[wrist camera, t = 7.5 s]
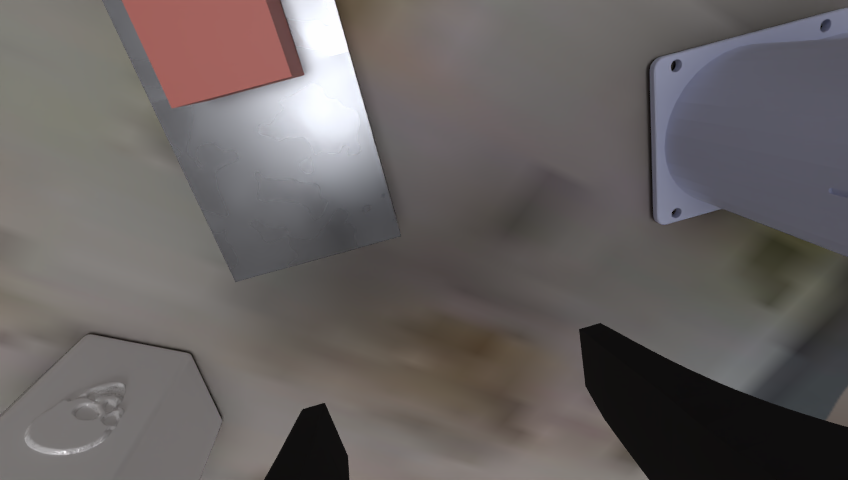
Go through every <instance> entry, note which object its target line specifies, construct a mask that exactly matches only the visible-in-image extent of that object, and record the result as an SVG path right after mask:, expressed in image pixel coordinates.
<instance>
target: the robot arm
mask: <svg viewBox="0 0 848 480" xmlns="http://www.w3.org/2000/svg"><path fill="white" fill-rule="evenodd" d="M821 23H822V28H821V30H820V26H821ZM673 61H675V62H676V66H675V69H674V70H673V71H672V70H671V64H672V62H673ZM650 105H651V145H652V185H653V217H654V220H655V221H656V222H658V223H660V224H662V225H667V224H670V223H674V222H677V221H681V220H684V219H688V218H691V217H695V216H698V215H702V214H706V213H709V212H713V211H716V210H720V209H725V210H727V211H730V212H732V213H735V214H738V215H740V216H743V217H745V218H748V219H750V220H753V221H756V222H758V223H761V224H763V225H766V226H769V227H771V228H774V229H776V230H779V231H782V232H784V233H787V234H789V235H792V236H795V237H797V238H800V239H802V240H805V241H808V242H810V243H813V244H815V245H818V246H821V247H823V248H826V249H828V250H831V251H834V252H836V253H839V254H841V255H844V256H847V257H848V8H842V9H837V10H833V11H830V12H826V13H822V14H818V15H815V16H811V17H807V18H803V19H800V20H796V21H792V22H788V23H785V24H781V25H777V26H773V27H770V28H766V29H762V30H758V31H755V32H751V33H747V34H743V35H740V36H736V37H732V38H728V39H725V40H721V41H717V42H713V43H710V44H706V45H702V46H698V47H695V48H691V49H687V50H683V51H680V52H676V53H672V54H668V55H665V56H661V57H658V58H656V59H655V60H654V61H653V62H652V64H651V66H650ZM674 209H676V212H675V213H674V214H673V215H672V211H673V210H674ZM579 332H580V341H581V350H582V359H583V368H584V377H585V386H586V388H587V389H588V391H589V393H590V395H591V397H592V398H593V400H594V402H595V404H596V406H597V407H598V409H599V411H600V412H601V414H602V416H603V417H604V419H605V421H606V422H607V423H608V425H609V426H610V427H611V429H612V430H613V432H614V433H615V434H616V436H617V437H618V438H619V440H620V441H621V442H622V444H623V445H624V447H625V448H626V449H627V451H628V452H629V453H630V455H631V456H632V457H633V459H634V460H635V461H636V463H637V464H638V465H639V467H640V468H641V469H642V471H643V472H644V473H645V475H646V476H647V477H648V479H649V480H848V427H845V426H842V425H838V424H834V423H831V422H828V421H824V420H821V419H818V418H815V417H812V416H809V415H805V414H802V413H799V412H796V411H793V410H790V409H787V408H784V407H781V406H778V405H775V404H772V403H769V402H767V401H764V400H761V399H759V398H756V397H753V396H751V395H748V394H745V393H743V392H740V391H738V390H735V389H733V388H730V387H728V386H725V385H723V384H720V383H718V382H716V381H714V380H711V379H709V378H707V377H705V376H703V375H700V374H698V373H696V372H694V371H691V370H689V369H687V368H685V367H683V366H681V365H679V364H677V363H675V362H673V361H671V360H669V359H667V358H665V357H663V356H661V355H659V354H657V353H655V352H653V351H651V350H649V349H647V348H645V347H644V346H642V345H640V344H638V343H636V342H634V341H632V340H631V339H629V338H627V337H625V336H623V335H621V334H620V333H618V332H616V331H614V330H612V329H610V328H609V327H607V326H605V325H603V324H601V323H599V324H596V325H592V326H589V327H585V328H582V329H579ZM264 480H349V467H348V455H347V453H346V451H345V448H344V446H343V444H342V441H341V439H340V437H339V435H338V432H337V430H336V428H335V425H334V423H333V421H332V418H331V416H330V414H329V412H328V409H327V407H326V405H325V403H323V404H319V405H316V406H312V407H309V408H305V409H303V410H302V411H301V413H300V415H299V417H298V418H297V420H296V422H295V424H294V426H293V428H292V430H291V432H290V434H289V435H288V437H287V439H286V441H285V443H284V445H283V447H282V449H281V450H280V452H279V454H278V456H277V458H276V460H275V461H274V463H273V465H272V467H271V468H270V470H269V472H268V474H267V476H266V477H265V479H264Z"/></svg>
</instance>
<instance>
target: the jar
mask: <svg viewBox="0 0 848 480" xmlns="http://www.w3.org/2000/svg"><path fill="white" fill-rule="evenodd" d="M221 424H222V419H221V417H220V414H219V412H218V410H217V408H216V406H215V404H214V402H213V400H212V398H211V396H210V393H209V391H208V389H207V387H206V385H205V383H204V381H203V379H202V377H201V374H200V372H199V370H198V368H197V366H196V364H195V362H194V360H193V357H192V355H191V354H189V353H186V352H181V351H176V350H171V349H165V348H160V347H155V346H150V345H145V344H140V343H135V342H129V341H124V340H119V339H114V338H109V337H104V336H98V335H93V334H88V335H86V336H84V337H83V338H82V339H80V340H79V341H78V342H77V343H76V344H75V345H74V346H73V347H72V348H71V349H70V350H69V351H68V352H66V353H65V354H64V355H63V356H62V357H61V358H60V359H59V360H58V361H57V362H56V363H55V364H54V365H52V366H51V367H50V368H49V369H48V370H47V371H46V372H45V373H44V374H43V375H42V376H41V377H40V378H38V379H37V380H36V381H35V382H34V383H33V384H32V385H31V386H30V387H29V388H28V389H27V390H26V391H24V392H23V393H22V394H21V395H20V396H19V397H18V398H17V399H16V400H15V401H14V402H13V403H12V404H11V405H10V406H9V407H8V408H7V409H6V410H5V411H4V412H3V413H2V414H1V415H0V480H200V478H201V475H202V473H203V470H204V468H205V465H206V463H207V460H208V457H209V455H210V452H211V450H212V447H213V445H214V442H215V439H216V437H217V434H218V432H219V429H220V427H221Z"/></svg>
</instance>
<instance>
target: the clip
mask: <svg viewBox="0 0 848 480" xmlns="http://www.w3.org/2000/svg"><path fill="white" fill-rule="evenodd" d="M122 2H123V4H124V6H125V9H126V11H127V13H128V15H129V17H130V19H131V22H132V24H133V26H134V28H135V30H136V32H137V34H138V37H139V39H140V41H141V43H142V45H143V47H144V50H145V52H146V54H147V56H148V58H149V60H150V63H151V65H152V67H153V69H154V71H155V73H156V75H157V78H158V80H159V82H160V84H161V86H162V88H163V91H164V93H165V95H166V97H167V99H168V101H169V104H170V106H171V108H177V107H182V106H186V105H191V104H196V103H201V102H206V101H210V100H213V99H217V98H221V97H225V96H228V95H232V94H236V93H240V92H243V91H247V90H251V89H255V88H258V87H262V86H266V85H270V84H273V83H277V82H281V81H285V80H288V79H292V78H296V77H300V76H303V75H304V72H303V69H302V66H301V63H300V60H299V57H298V54H297V51H296V48H295V45H294V42H293V39H292V36H291V33H290V30H289V27H288V24H287V21H286V18H285V15H284V12H283V9H282V6H281V3H280V0H122Z"/></svg>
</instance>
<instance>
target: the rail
mask: <svg viewBox="0 0 848 480" xmlns="http://www.w3.org/2000/svg"><path fill="white" fill-rule="evenodd" d="M102 1H103V3H104V5H105V7H106V10H107V12H108V14H109V16H110V18H111V20H112V22H113V24H114V26H115V29H116V31H117V33H118V35H119V37H120V39H121V41H122V43H123V45H124V48H125V50H126V52H127V54H128V56H129V58H130V60H131V62H132V64H133V67H134V69H135V71H136V73H137V75H138V77H139V79H140V81H141V83H142V86H143V88H144V90H145V92H146V94H147V96H148V98H149V100H150V102H151V105H152V107H153V109H154V111H155V113H156V115H157V117H158V119H159V121H160V123H161V126H162V128H163V130H164V132H165V134H166V136H167V138H168V140H169V142H170V145H171V147H172V149H173V151H174V153H175V155H176V157H177V159H178V161H179V164H180V166H181V168H182V170H183V172H184V174H185V176H186V178H187V180H188V183H189V185H190V187H191V189H192V191H193V193H194V195H195V197H196V199H197V202H198V204H199V206H200V208H201V210H202V212H203V214H204V216H205V218H206V221H207V223H208V225H209V227H210V229H211V231H212V233H213V235H214V237H215V240H216V242H217V244H218V246H219V248H220V250H221V252H222V254H223V256H224V259H225V261H226V263H227V265H228V267H229V269H230V271H231V273H232V275H233V278H234V280H235V282H237V281H241V280H244V279H248V278H252V277H255V276H259V275H262V274H266V273H270V272H273V271H277V270H281V269H284V268H288V267H291V266H295V265H299V264H302V263H306V262H309V261H313V260H317V259H320V258H324V257H328V256H331V255H335V254H338V253H342V252H346V251H349V250H353V249H357V248H360V247H364V246H367V245H371V244H375V243H378V242H382V241H385V240H389V239H393V238H396V237H400V236H401V234H400V230H399V226H398V222H397V218H396V214H395V210H394V207H393V203H392V200H391V196H390V193H389V189H388V186H387V182H386V179H385V175H384V172H383V168H382V164H381V161H380V157H379V154H378V150H377V147H376V143H375V140H374V136H373V133H372V129H371V125H370V122H369V118H368V115H367V111H366V108H365V104H364V101H363V97H362V94H361V90H360V86H359V83H358V79H357V76H356V72H355V69H354V65H353V62H352V58H351V55H350V51H349V47H348V44H347V40H346V37H345V33H344V30H343V26H342V23H341V19H340V16H339V12H338V8H337V5H336V1H335V0H281V3H282V6H283V9H284V12H285V15H286V19H287V22H288V25H289V28H290V31H291V34H292V37H293V40H294V43H295V46H296V49H297V52H298V55H299V58H300V61H301V66H302V69H303V72H304V75H303V76H300V77H296V78H292V79H288V80H285V81H281V82H277V83H273V84H270V85H266V86H262V87H258V88H255V89H251V90H247V91H243V92H240V93H236V94H232V95H228V96H225V97H221V98H217V99H213V100H210V101H206V102H201V103H196V104H191V105H186V106H182V107H177V108H171V106H170V104H169V101H168V99H167V97H166V95H165V93H164V91H163V88H162V86H161V84H160V82H159V80H158V78H157V75H156V73H155V71H154V69H153V67H152V65H151V63H150V60H149V58H148V56H147V54H146V52H145V50H144V47H143V45H142V43H141V41H140V39H139V37H138V34H137V32H136V30H135V28H134V26H133V24H132V22H131V19H130V17H129V15H128V13H127V11H126V9H125V6H124V4H123V2H122V0H102Z"/></svg>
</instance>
